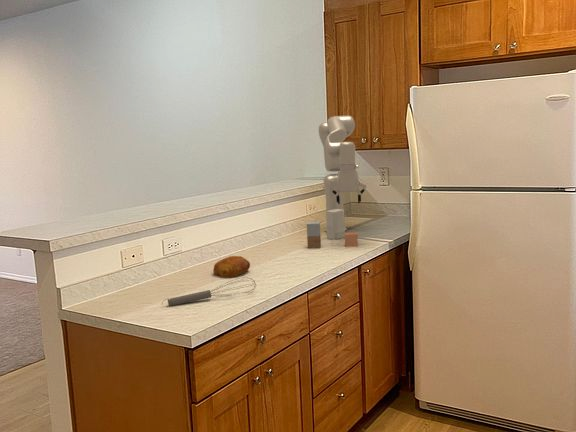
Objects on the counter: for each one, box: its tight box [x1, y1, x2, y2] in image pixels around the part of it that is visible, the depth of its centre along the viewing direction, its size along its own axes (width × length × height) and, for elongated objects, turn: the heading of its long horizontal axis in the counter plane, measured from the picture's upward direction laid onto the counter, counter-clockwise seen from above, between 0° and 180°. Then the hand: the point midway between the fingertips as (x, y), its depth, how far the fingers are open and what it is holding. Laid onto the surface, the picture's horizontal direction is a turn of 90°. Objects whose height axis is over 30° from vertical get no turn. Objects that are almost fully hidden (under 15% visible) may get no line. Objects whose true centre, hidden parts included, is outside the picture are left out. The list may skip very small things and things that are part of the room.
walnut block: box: [306, 235, 322, 249], centre depth 281 cm, size 6×6×6 cm
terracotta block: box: [344, 231, 359, 248], centre depth 281 cm, size 6×6×6 cm
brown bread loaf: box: [213, 255, 251, 278], centre depth 237 cm, size 14×16×8 cm
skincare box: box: [325, 209, 346, 241], centre depth 300 cm, size 8×6×15 cm
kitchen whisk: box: [161, 276, 257, 307], centre depth 201 cm, size 6×34×6 cm, turn 112°
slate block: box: [306, 221, 321, 237], centre depth 280 cm, size 6×6×6 cm
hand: (348, 203), depth 279 cm, fingers open, 9 cm apart
